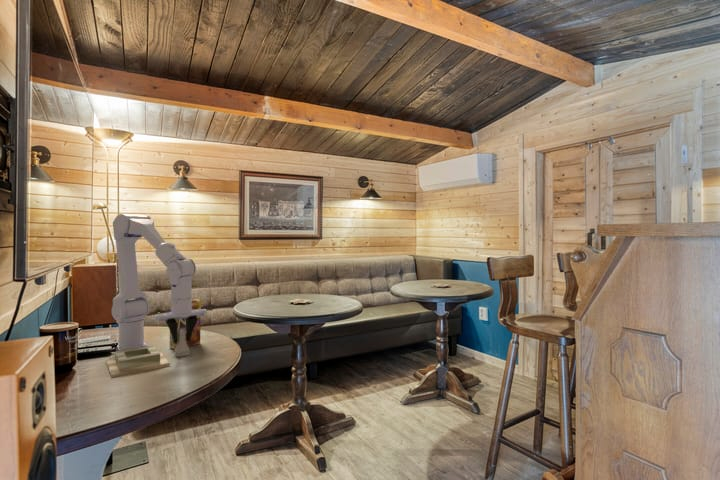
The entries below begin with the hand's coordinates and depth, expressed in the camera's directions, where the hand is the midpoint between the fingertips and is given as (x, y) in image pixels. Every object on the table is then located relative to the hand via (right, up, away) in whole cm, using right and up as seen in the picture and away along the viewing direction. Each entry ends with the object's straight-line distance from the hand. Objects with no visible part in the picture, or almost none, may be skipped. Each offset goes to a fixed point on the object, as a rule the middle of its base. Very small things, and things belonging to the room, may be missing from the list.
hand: (181, 341), depth 117 cm
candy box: (-3, -4, +10) cm, 11 cm away
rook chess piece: (0, -4, 0) cm, 4 cm away
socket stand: (-9, -5, -7) cm, 13 cm away
